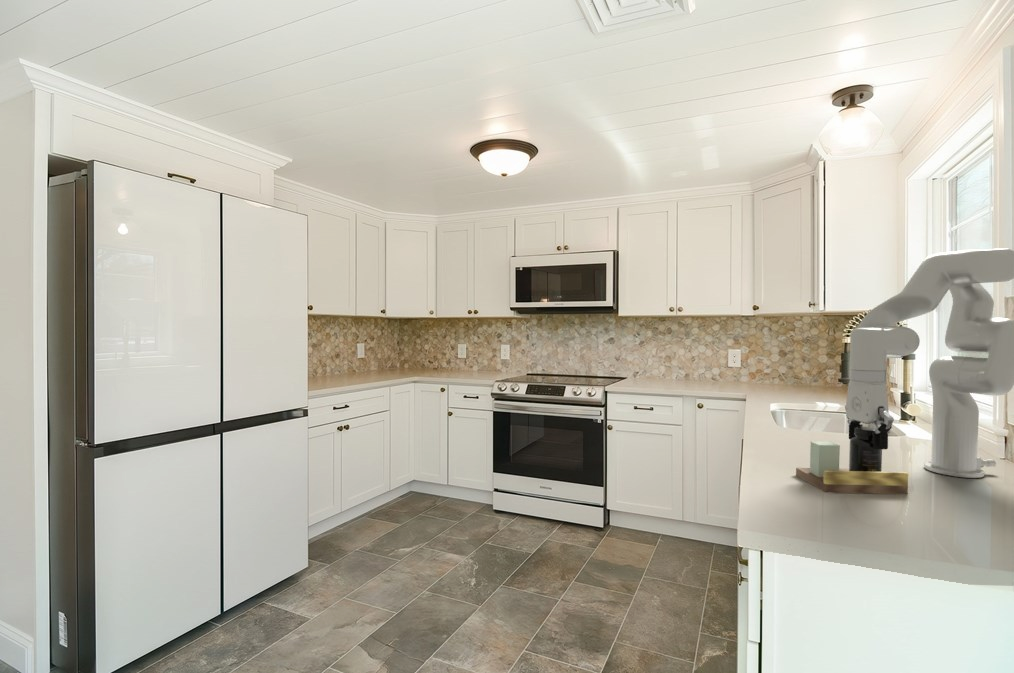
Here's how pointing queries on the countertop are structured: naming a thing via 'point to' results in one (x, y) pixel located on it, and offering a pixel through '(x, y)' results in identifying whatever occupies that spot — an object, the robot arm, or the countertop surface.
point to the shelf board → (857, 481)
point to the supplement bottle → (864, 451)
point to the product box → (824, 457)
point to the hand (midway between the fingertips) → (867, 444)
